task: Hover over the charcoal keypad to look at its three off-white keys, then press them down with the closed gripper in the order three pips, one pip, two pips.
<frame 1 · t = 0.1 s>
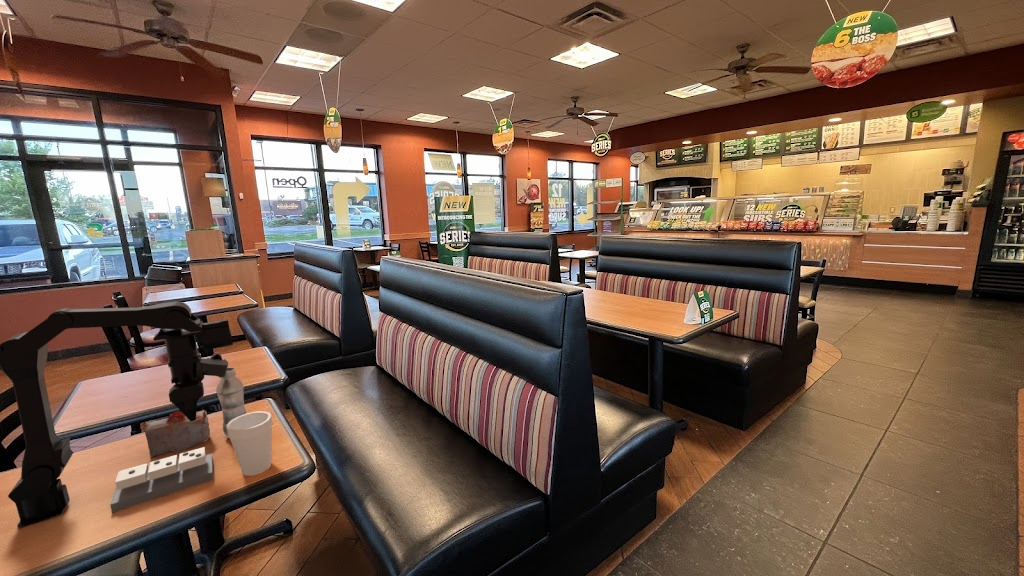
hand: (193, 413, 103), 14 cm above the table, tool pointing down, fingers open, 9 cm apart
keypad board: (167, 484, 99), on the table
key one: (132, 475, 95), point 5 cm above the table, slide at 0.0 cm
foam cup: (257, 468, 105), on the table
key three: (192, 458, 101), point 5 cm above the table, slide at 0.0 cm
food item: (182, 446, 115), on the table
key two: (163, 466, 98), point 5 cm above the table, slide at 0.0 cm
plastic bottle: (238, 435, 120), on the table
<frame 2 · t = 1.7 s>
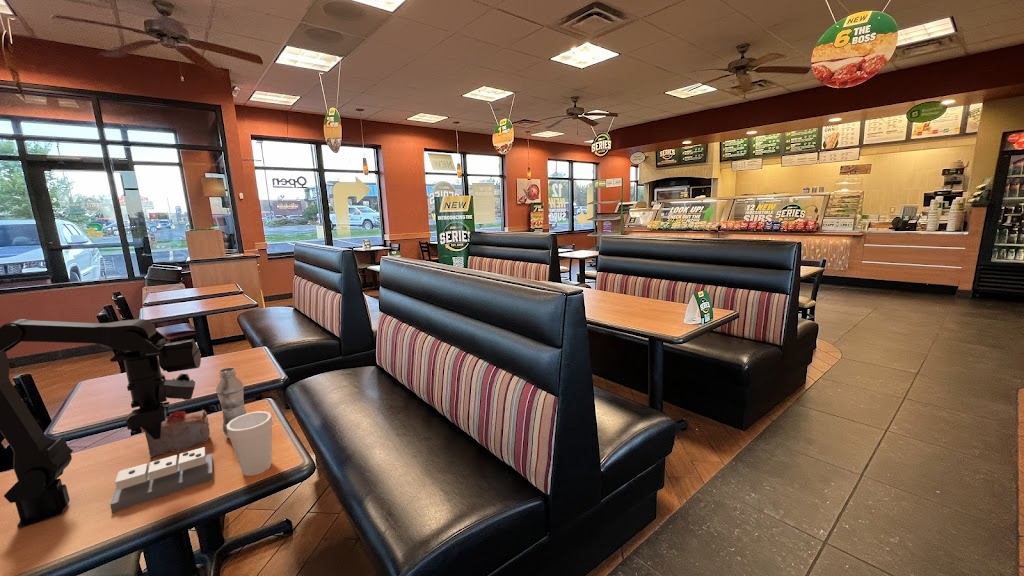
hand: (157, 438, 97), 12 cm above the table, tool pointing down, fingers closed
nothing on the table moved.
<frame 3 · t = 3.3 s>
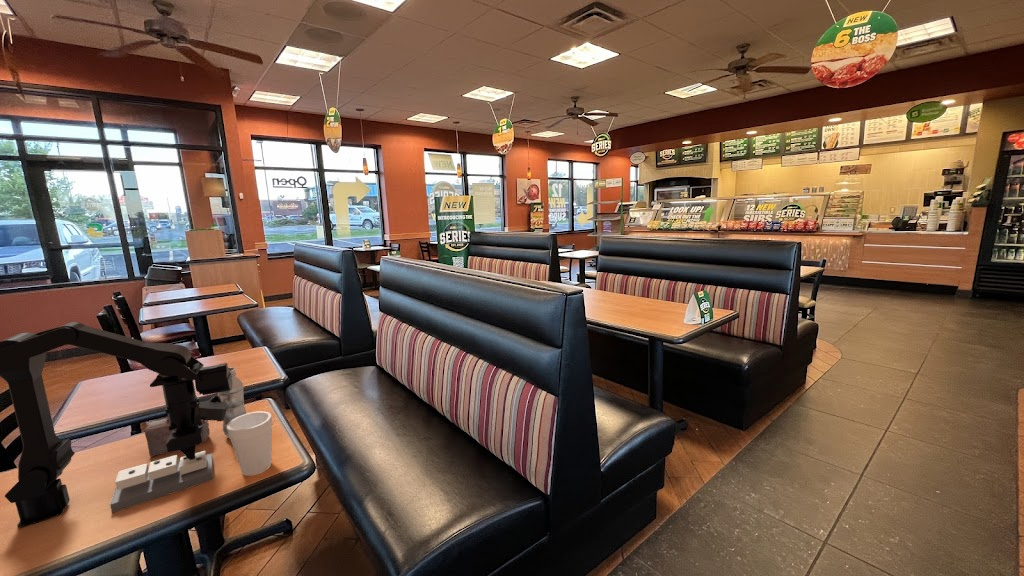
hand: (192, 458, 101), 5 cm above the table, tool pointing down, fingers closed, pressing on key three
key three: (193, 461, 102), point 4 cm above the table, slide at 1.0 cm, touching gripper
everything else where it was.
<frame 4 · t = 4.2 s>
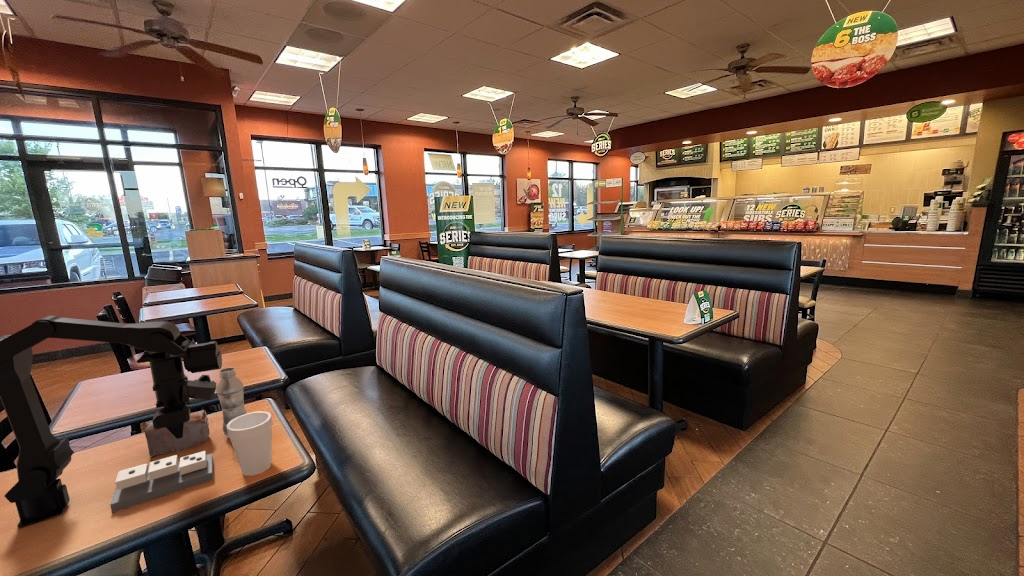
hand: (180, 437, 99), 11 cm above the table, tool pointing down, fingers closed
key three: (193, 462, 102), point 4 cm above the table, slide at 1.0 cm
everything else where it was.
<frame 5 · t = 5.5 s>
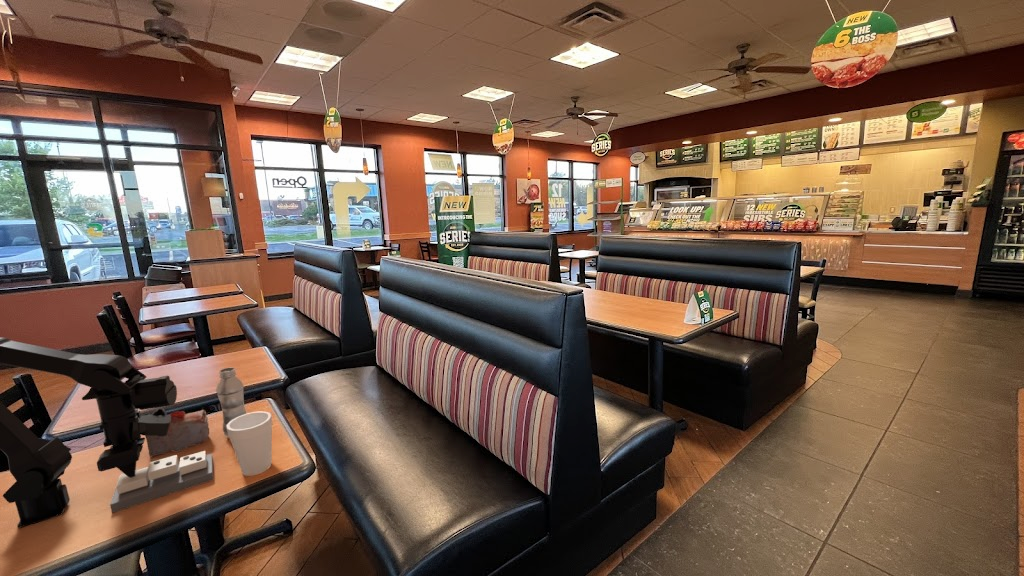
hand: (132, 475, 95), 5 cm above the table, tool pointing down, fingers closed, pressing on key one
key one: (133, 479, 95), point 4 cm above the table, slide at 1.0 cm, touching gripper
everything else where it was.
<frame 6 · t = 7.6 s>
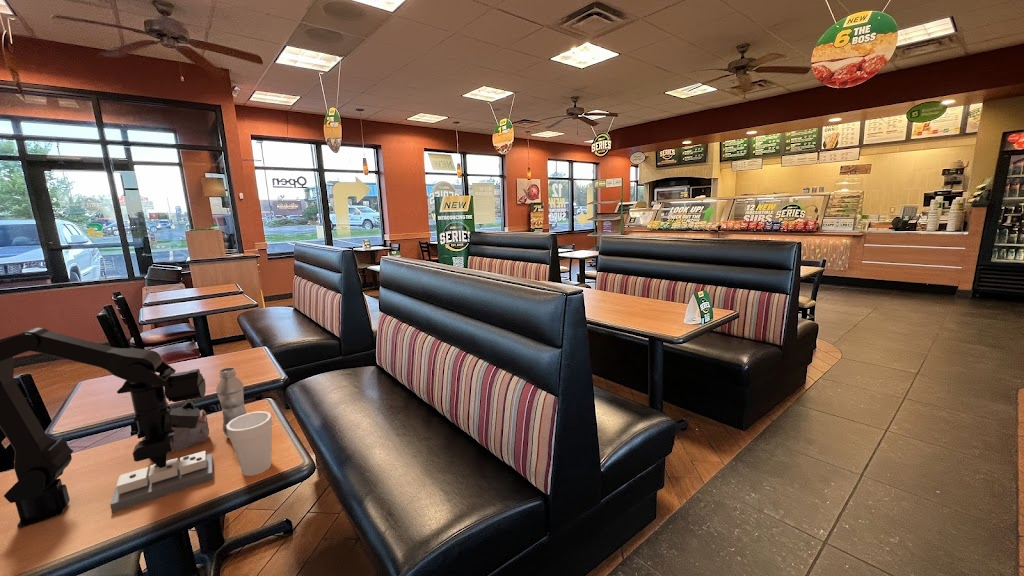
hand: (163, 466, 98), 5 cm above the table, tool pointing down, fingers closed, pressing on key two
key one: (133, 479, 95), point 4 cm above the table, slide at 1.0 cm
key two: (164, 469, 98), point 4 cm above the table, slide at 0.8 cm, touching gripper
everything else where it was.
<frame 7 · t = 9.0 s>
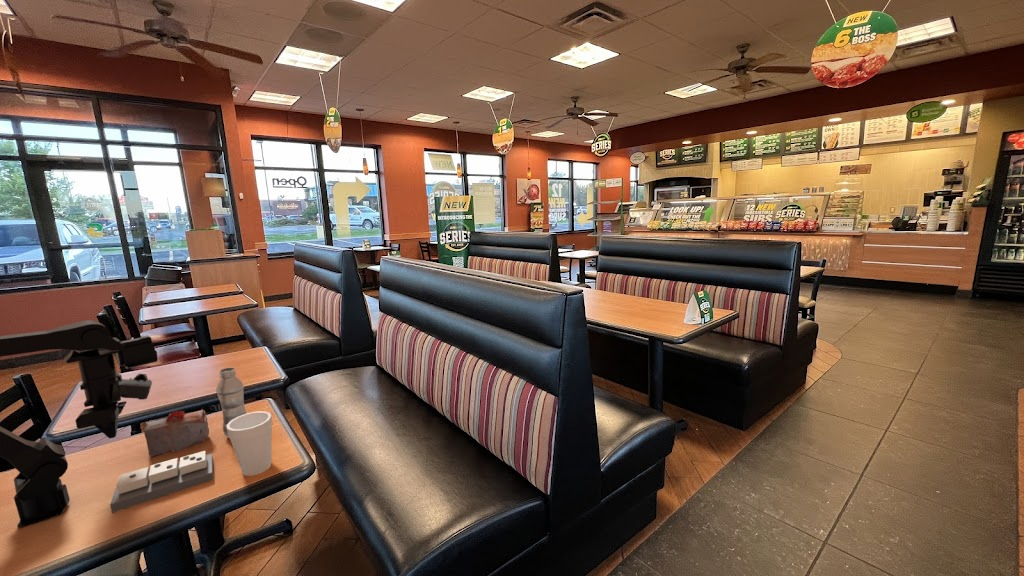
hand: (112, 437, 98), 12 cm above the table, tool pointing down, fingers closed
key two: (164, 469, 98), point 4 cm above the table, slide at 0.8 cm
everything else where it was.
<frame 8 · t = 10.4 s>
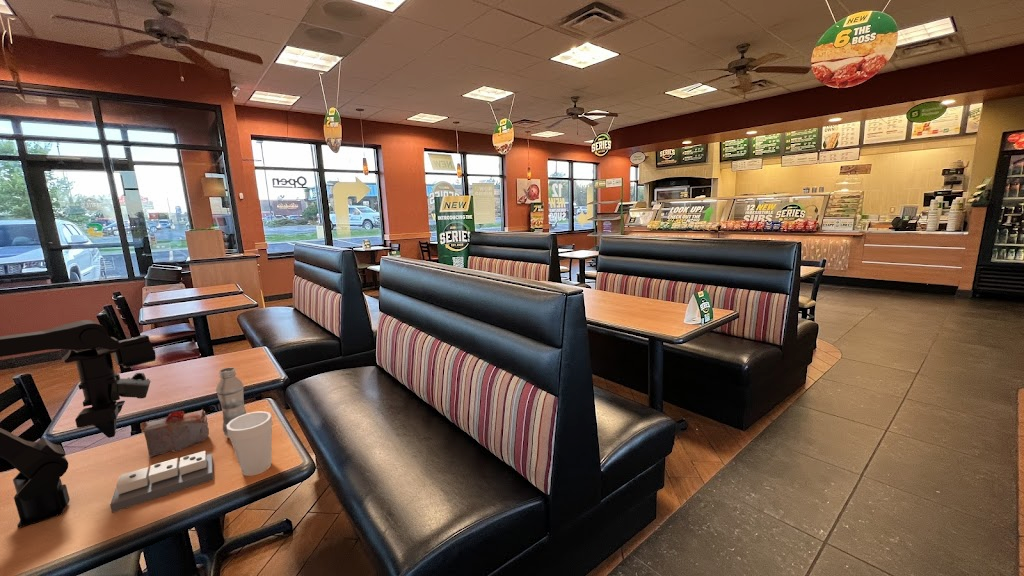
hand: (111, 436, 98), 12 cm above the table, tool pointing down, fingers closed
nothing on the table moved.
at the end: key three slide at 1.0 cm; key one slide at 1.0 cm; key two slide at 0.8 cm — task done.
